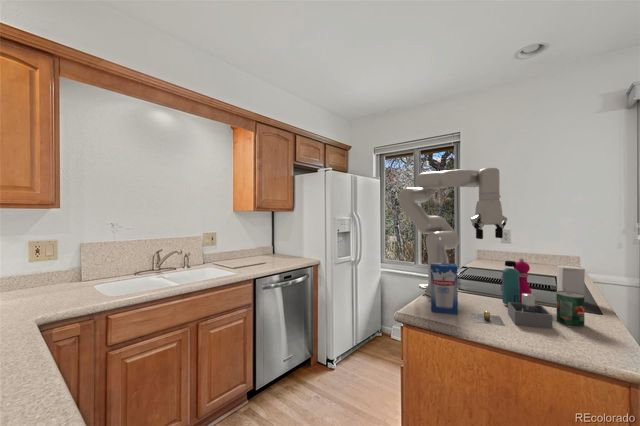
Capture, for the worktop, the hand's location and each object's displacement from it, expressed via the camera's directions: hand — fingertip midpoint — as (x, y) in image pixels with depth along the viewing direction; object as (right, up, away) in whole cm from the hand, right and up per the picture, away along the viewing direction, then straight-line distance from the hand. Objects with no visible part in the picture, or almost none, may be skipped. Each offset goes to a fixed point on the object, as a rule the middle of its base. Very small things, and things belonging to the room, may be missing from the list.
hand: (489, 238), depth 120 cm
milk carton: (-20, -31, -2) cm, 37 cm away
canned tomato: (+21, -30, -15) cm, 40 cm away
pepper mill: (+20, -30, +9) cm, 38 cm away
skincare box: (+44, -30, +11) cm, 54 cm away
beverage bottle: (+11, -30, +3) cm, 33 cm away
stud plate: (-8, -31, -11) cm, 34 cm away
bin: (+6, -30, -14) cm, 34 cm away
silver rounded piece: (+6, -30, -14) cm, 34 cm away
